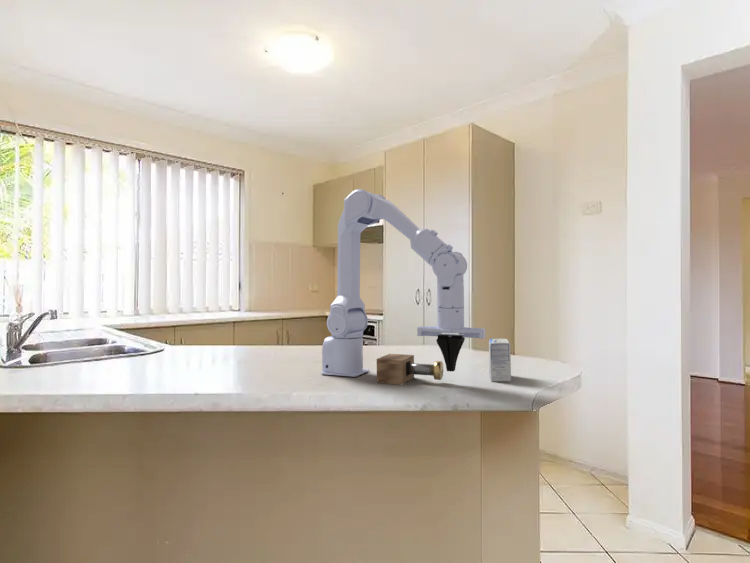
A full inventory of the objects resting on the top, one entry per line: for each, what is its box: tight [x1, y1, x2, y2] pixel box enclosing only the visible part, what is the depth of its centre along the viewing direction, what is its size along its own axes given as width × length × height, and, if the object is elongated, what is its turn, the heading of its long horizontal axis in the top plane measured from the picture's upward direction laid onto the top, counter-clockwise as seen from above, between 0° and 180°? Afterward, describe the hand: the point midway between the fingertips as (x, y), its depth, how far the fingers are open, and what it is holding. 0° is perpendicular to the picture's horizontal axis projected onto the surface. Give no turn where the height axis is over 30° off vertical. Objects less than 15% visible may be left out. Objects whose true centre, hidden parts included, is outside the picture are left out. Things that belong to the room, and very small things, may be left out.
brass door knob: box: [406, 360, 444, 381], centre depth 105 cm, size 9×4×4 cm, turn 67°
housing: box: [376, 353, 415, 386], centre depth 107 cm, size 6×8×5 cm
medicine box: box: [488, 338, 512, 383], centre depth 108 cm, size 8×4×9 cm, turn 168°
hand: (451, 370), depth 102 cm, fingers closed
